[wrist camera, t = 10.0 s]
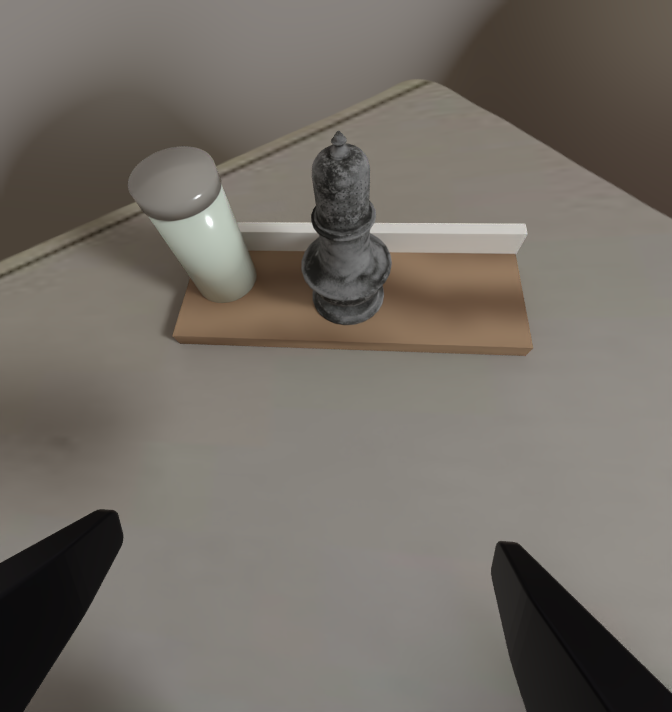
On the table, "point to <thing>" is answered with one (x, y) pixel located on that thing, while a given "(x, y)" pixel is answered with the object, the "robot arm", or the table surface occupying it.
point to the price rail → (395, 237)
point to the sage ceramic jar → (195, 220)
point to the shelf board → (390, 324)
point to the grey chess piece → (344, 238)
